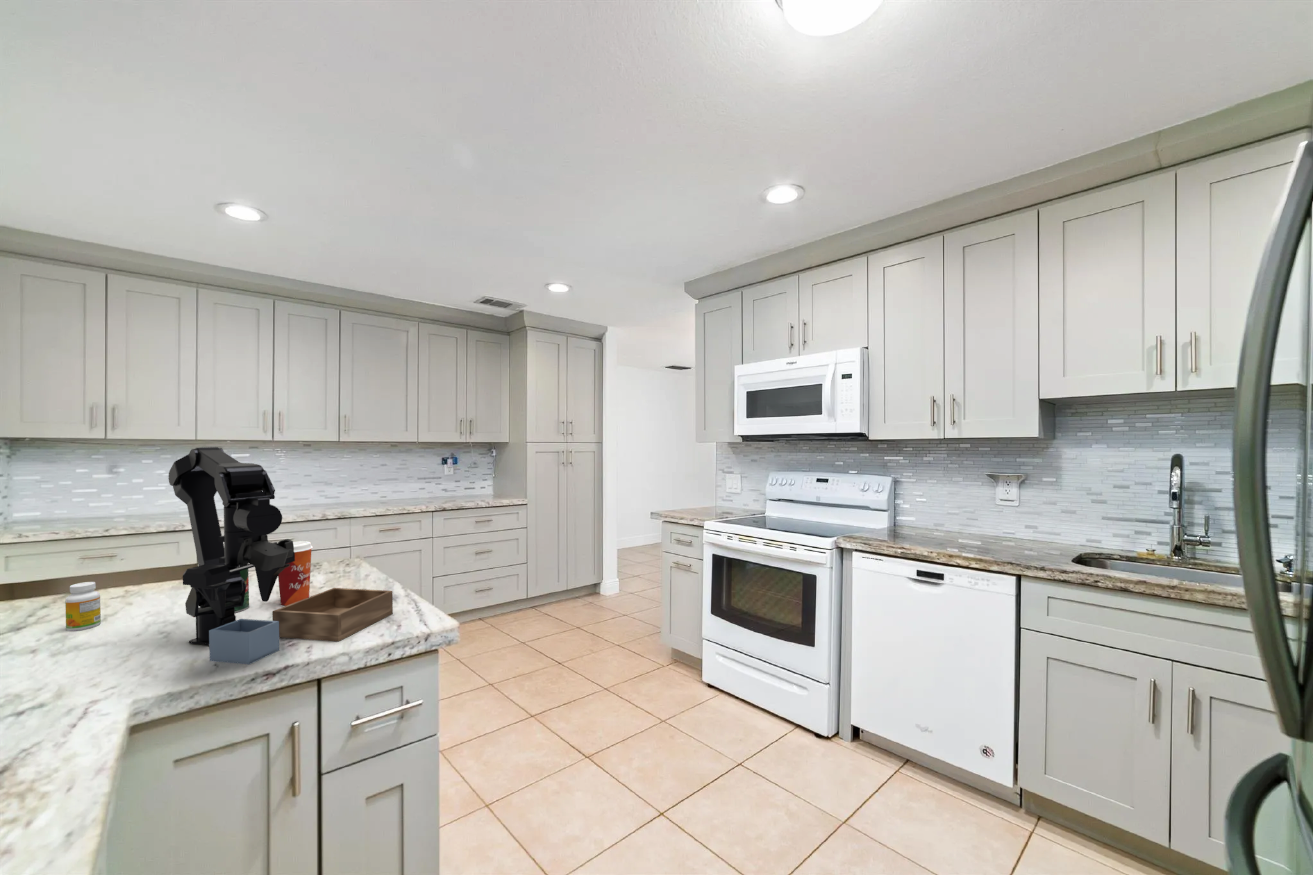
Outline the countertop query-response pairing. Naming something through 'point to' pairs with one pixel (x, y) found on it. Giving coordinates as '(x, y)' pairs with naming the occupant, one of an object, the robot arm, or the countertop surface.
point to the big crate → (333, 614)
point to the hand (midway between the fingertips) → (244, 608)
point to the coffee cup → (296, 575)
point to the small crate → (244, 641)
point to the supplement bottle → (82, 607)
